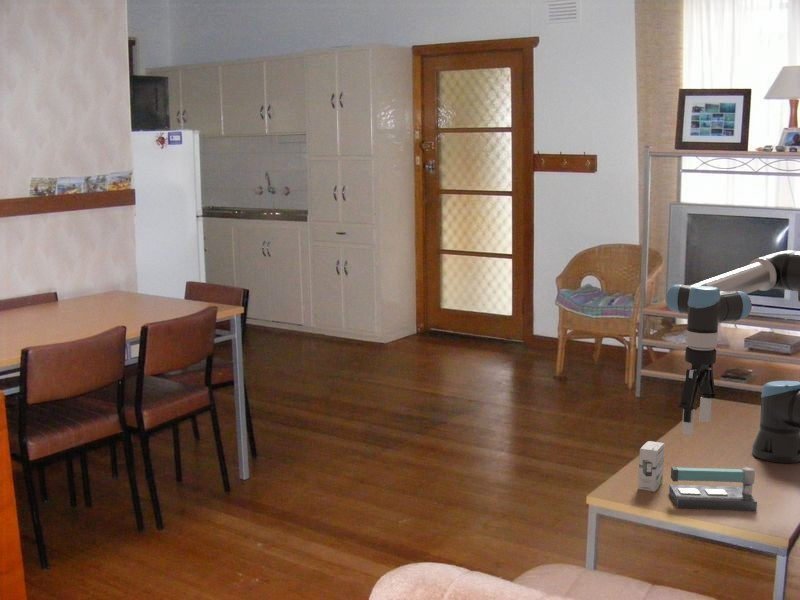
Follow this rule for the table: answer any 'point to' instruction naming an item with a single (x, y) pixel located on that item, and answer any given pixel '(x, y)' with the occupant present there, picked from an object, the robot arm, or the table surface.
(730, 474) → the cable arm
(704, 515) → the table surface
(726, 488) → the plate
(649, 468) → the ink box
